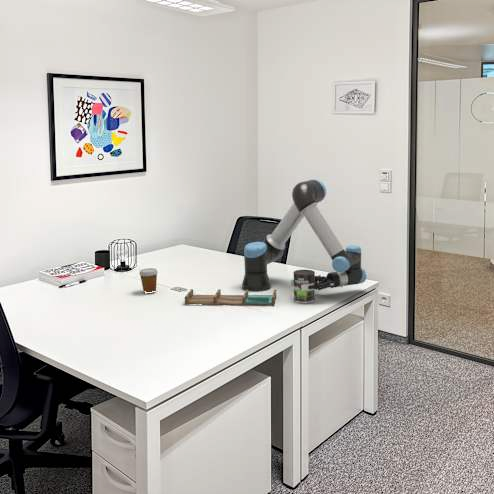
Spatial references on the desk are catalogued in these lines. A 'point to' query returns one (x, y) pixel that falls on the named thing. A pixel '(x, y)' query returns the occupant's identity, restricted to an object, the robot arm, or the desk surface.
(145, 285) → the disposable coffee cup
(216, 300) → the slot rack
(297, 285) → the coffee can
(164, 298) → the desk surface
